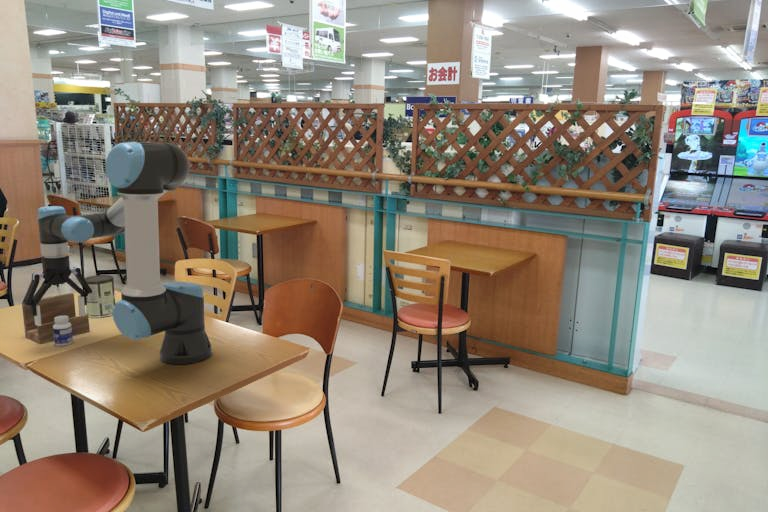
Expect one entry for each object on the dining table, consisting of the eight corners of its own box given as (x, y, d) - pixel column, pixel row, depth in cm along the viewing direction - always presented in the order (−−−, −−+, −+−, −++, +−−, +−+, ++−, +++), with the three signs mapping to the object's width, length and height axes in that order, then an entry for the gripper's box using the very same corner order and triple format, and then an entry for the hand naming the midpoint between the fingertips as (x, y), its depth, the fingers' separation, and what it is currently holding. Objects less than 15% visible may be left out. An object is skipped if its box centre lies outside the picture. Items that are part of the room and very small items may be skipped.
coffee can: (96, 309, 222) (93, 274, 220) (121, 310, 221) (119, 275, 219) (80, 317, 212) (76, 280, 210) (106, 318, 211) (103, 281, 209)
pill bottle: (52, 343, 185) (49, 317, 183) (69, 339, 189) (67, 313, 187) (57, 347, 181) (55, 320, 180) (75, 343, 185) (73, 317, 183)
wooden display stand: (89, 331, 197) (86, 297, 194) (40, 343, 184) (36, 308, 182) (74, 325, 203) (71, 292, 201) (25, 337, 190) (21, 302, 188)
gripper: (88, 248, 191) (93, 309, 196) (6, 259, 172) (13, 326, 176) (100, 251, 187) (104, 313, 191) (16, 263, 167) (23, 332, 172)
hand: (60, 320), depth 184 cm, fingers open, 13 cm apart
